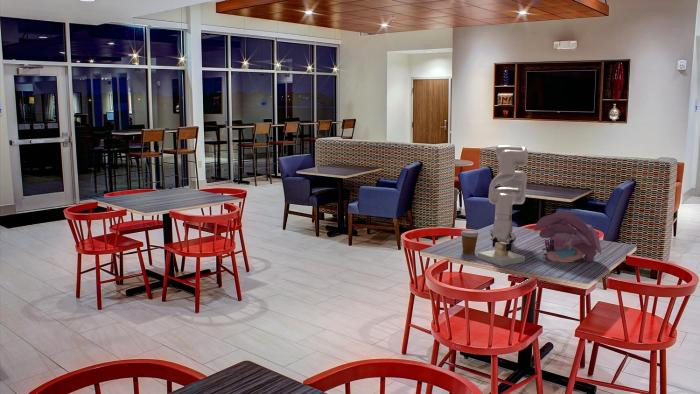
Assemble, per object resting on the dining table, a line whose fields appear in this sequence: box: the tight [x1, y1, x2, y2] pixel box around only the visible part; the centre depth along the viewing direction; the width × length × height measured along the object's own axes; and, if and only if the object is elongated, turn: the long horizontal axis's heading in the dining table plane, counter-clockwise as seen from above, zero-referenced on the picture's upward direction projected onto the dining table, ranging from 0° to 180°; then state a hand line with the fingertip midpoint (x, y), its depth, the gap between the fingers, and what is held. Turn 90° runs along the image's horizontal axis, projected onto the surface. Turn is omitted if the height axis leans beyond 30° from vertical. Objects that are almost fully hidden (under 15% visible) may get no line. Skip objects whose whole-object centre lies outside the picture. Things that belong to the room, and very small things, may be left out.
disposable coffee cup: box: [460, 229, 479, 255], centre depth 339 cm, size 10×10×12 cm
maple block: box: [494, 241, 508, 256], centre depth 326 cm, size 5×5×6 cm
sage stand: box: [477, 249, 526, 267], centre depth 327 cm, size 17×17×3 cm
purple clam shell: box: [533, 210, 602, 263], centre depth 332 cm, size 35×24×28 cm
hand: (501, 248), depth 326 cm, fingers open, 9 cm apart
